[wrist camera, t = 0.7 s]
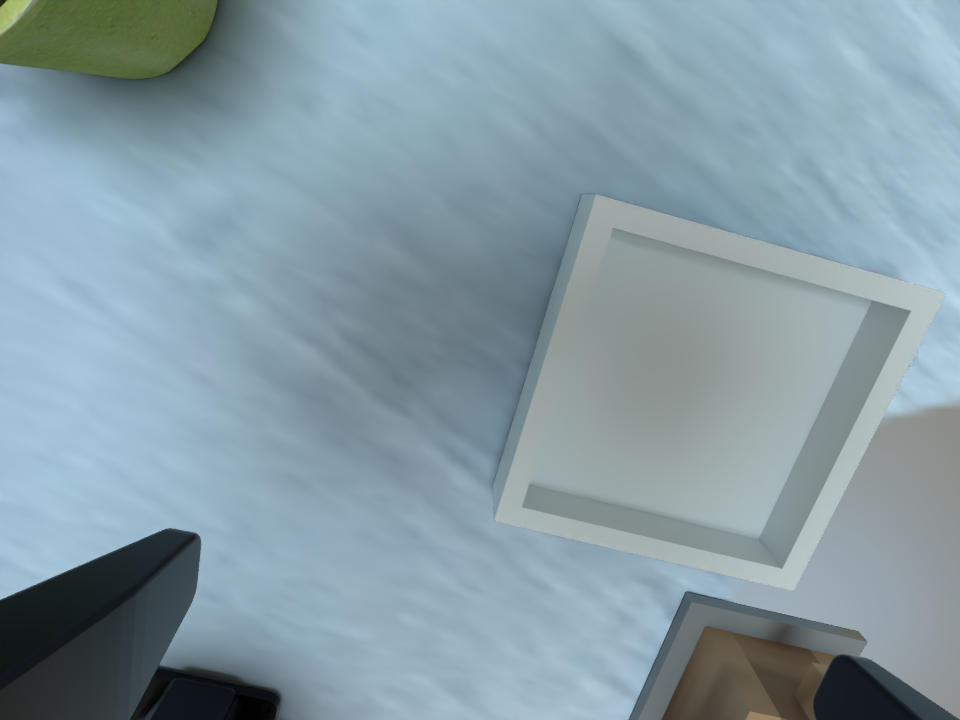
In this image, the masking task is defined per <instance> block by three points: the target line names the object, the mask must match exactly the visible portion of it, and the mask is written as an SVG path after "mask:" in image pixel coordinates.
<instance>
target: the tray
mask: <svg viewBox="0 0 960 720" xmlns="http://www.w3.org/2000/svg"><path fill="white" fill-rule="evenodd" d="M945 295H946V293H944V292H940V291H937V290H933V289H930V288H926V287H923V286H919V285H916V284H912V283H909V282H905V281H902V280H898V279H894V278H891V277H887V276H884V275H880V274H877V273H873V272H870V271H866V270H863V269H859V268H856V267H852V266H848V265H845V264H841V263H838V262H834V261H831V260H827V259H824V258H820V257H817V256H813V255H810V254H806V253H802V252H799V251H795V250H792V249H788V248H785V247H781V246H778V245H774V244H771V243H767V242H764V241H760V240H756V239H753V238H749V237H746V236H742V235H739V234H735V233H732V232H728V231H725V230H721V229H718V228H714V227H710V226H707V225H703V224H700V223H696V222H693V221H689V220H686V219H682V218H679V217H675V216H672V215H668V214H664V213H661V212H657V211H654V210H650V209H647V208H643V207H640V206H636V205H633V204H629V203H626V202H622V201H618V200H615V199H611V198H608V197H604V196H601V195H597V194H582V196H581V199H580V203H579V206H578V209H577V213H576V216H575V219H574V222H573V226H572V229H571V232H570V235H569V239H568V242H567V245H566V249H565V252H564V255H563V258H562V262H561V265H560V268H559V271H558V275H557V278H556V281H555V285H554V288H553V291H552V294H551V298H550V301H549V304H548V307H547V311H546V314H545V317H544V320H543V324H542V327H541V330H540V334H539V337H538V340H537V343H536V347H535V350H534V353H533V356H532V360H531V363H530V366H529V370H528V373H527V376H526V379H525V383H524V386H523V389H522V392H521V396H520V399H519V402H518V406H517V409H516V412H515V415H514V419H513V422H512V425H511V428H510V432H509V435H508V438H507V442H506V445H505V448H504V451H503V455H502V458H501V461H500V464H499V468H498V471H497V474H496V477H495V481H494V484H493V510H494V521H495V522H499V523H503V524H508V525H512V526H516V527H521V528H525V529H529V530H533V531H538V532H542V533H546V534H551V535H555V536H559V537H563V538H568V539H572V540H576V541H581V542H585V543H589V544H593V545H598V546H602V547H606V548H611V549H615V550H619V551H624V552H628V553H632V554H636V555H641V556H645V557H649V558H654V559H658V560H662V561H666V562H671V563H675V564H679V565H684V566H688V567H692V568H696V569H701V570H705V571H709V572H714V573H718V574H722V575H726V576H731V577H735V578H739V579H744V580H748V581H752V582H757V583H761V584H765V585H769V586H774V587H778V588H782V589H787V590H791V591H794V589H795V587H796V585H797V583H798V581H799V579H800V577H801V575H802V573H803V571H804V569H805V568H806V565H807V564H808V562H809V560H810V558H811V556H812V554H813V552H814V550H815V548H816V546H817V544H818V542H819V540H820V538H821V536H822V534H823V533H824V531H825V529H826V527H827V524H828V522H829V521H830V519H831V517H832V515H833V513H834V510H835V509H836V507H837V505H838V503H839V501H840V499H841V497H842V495H843V494H844V492H845V489H846V488H847V486H848V484H849V482H850V480H851V478H852V476H853V474H854V472H855V470H856V468H857V466H858V464H859V462H860V460H861V458H862V456H863V455H864V453H865V451H866V449H867V447H868V445H869V442H870V441H871V439H872V437H873V435H874V433H875V431H876V429H877V427H878V425H879V423H880V421H881V419H882V418H883V416H884V414H885V412H886V410H887V408H888V406H889V404H890V402H891V400H892V398H893V396H894V394H895V392H896V390H897V388H898V386H899V384H900V382H901V380H902V379H903V377H904V375H905V373H906V371H907V369H908V367H909V365H910V363H911V361H912V359H913V357H914V355H915V353H916V351H917V349H918V347H919V345H920V343H921V342H922V340H923V338H924V336H925V334H926V332H927V330H928V328H929V326H930V324H931V322H932V320H933V318H934V316H935V314H936V312H937V310H938V308H939V306H940V304H941V303H942V301H943V299H944V297H945Z"/></svg>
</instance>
